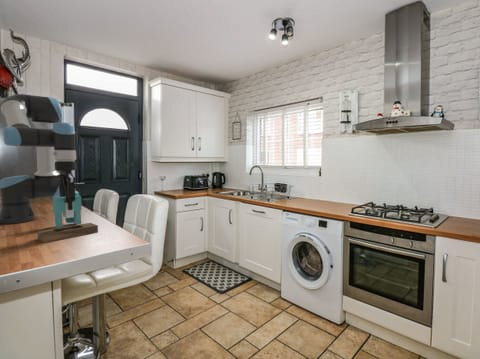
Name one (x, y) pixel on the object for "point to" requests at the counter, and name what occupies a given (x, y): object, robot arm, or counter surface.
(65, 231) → the rail
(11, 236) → the counter surface
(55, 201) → the notched teal block
